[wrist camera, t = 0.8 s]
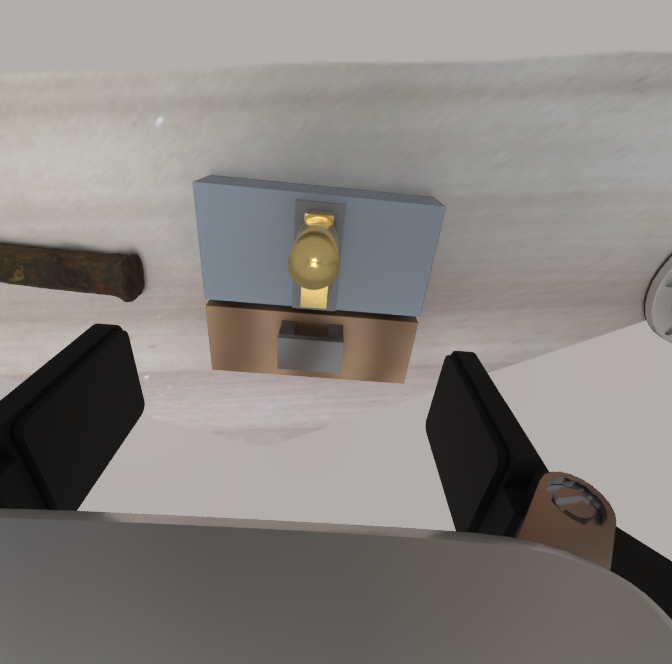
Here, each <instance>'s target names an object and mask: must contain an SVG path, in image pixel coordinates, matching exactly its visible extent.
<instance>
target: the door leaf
mask: <svg viewBox="0 0 672 664" xmlns="http://www.w3.org/2000/svg"><path fill="white" fill-rule="evenodd" d="M193 189H194V199H195V208H196V218H197V227H198V237H199V247H200V256H201V266H202V275H203V285H204V295H205V299H211V300H223V301H235V302H247V303H259V304H271V305H283V306H292V308H300V309H312V310H324V311H335V310H344V311H356V312H368V313H380V314H392V315H405V316H417V317H420V313H421V309H422V305H423V301H424V296H425V292H426V288H427V284H428V280H429V276H430V271H431V267H432V263H433V259H434V255H435V250H436V246H437V242H438V238H439V234H440V230H441V225H442V221H443V217H444V213H445V209H446V206H445V205H443V204H442V203H440V202H439V201H437V200H436V199H435V198H433V197H426V196H416V195H406V194H395V193H385V192H375V191H365V190H355V189H345V188H335V187H325V186H315V185H305V184H294V183H284V182H274V181H264V180H254V179H244V178H234V177H224V176H214V175H210V176H207V177H204V178H202V179H199V180H196V181H194V182H193ZM306 209H308V210H318V211H329V212H334V225H335V227H336V229H337V232H338V254H339V269H338V274H337V276H336V278H335V280H334V281H333V282H332V283H331V284H330V285H329V286H328V293H327V305H326V309H321V308H309V307H300V303H301V286H299V285H298V284H296V283H295V282H294V280H293V279H292V278H291V276H290V274H289V271H288V258H289V255H290V253H291V250H292V247H293V244H294V242H295V239H296V236H297V233H298V231H299V228H300V226H301V224H302V223H303V222H304V216H305V211H306Z"/></svg>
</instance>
